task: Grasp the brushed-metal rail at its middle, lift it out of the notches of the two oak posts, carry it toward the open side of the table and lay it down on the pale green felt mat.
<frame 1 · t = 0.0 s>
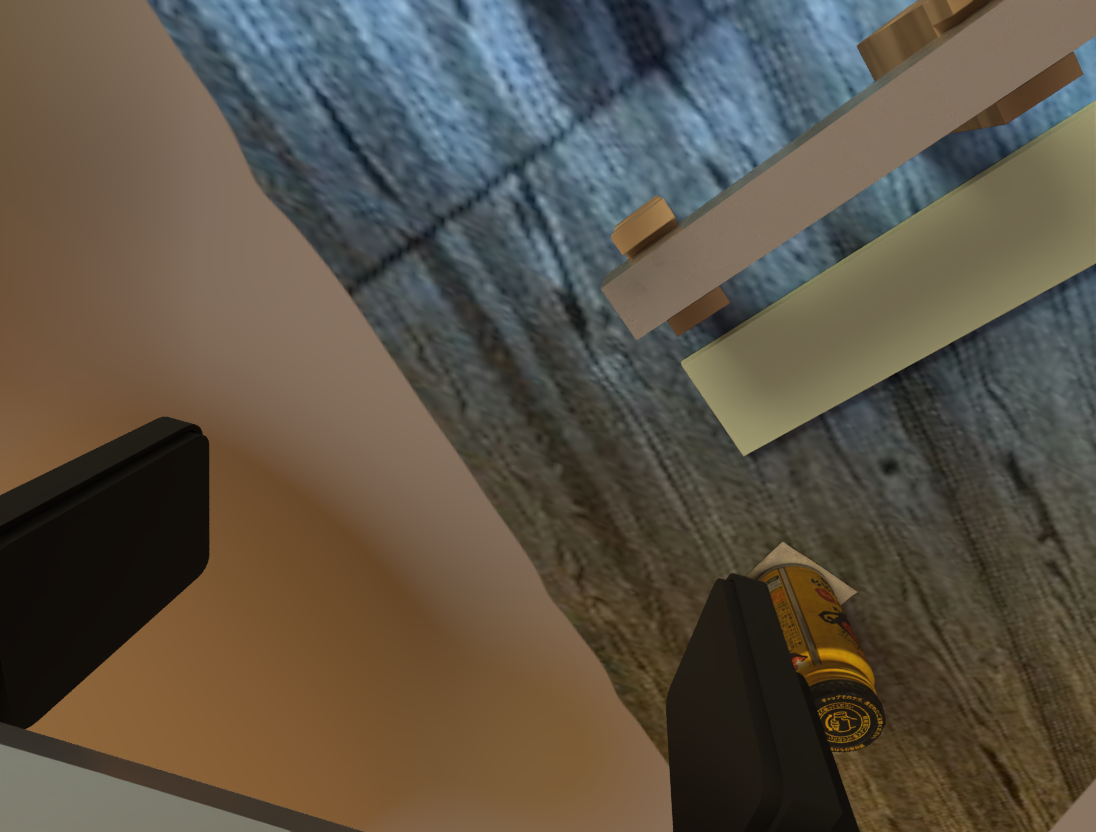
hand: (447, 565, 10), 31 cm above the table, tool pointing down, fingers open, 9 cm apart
post b: (662, 250, 38), on the table
rail: (813, 164, 28), point 8 cm above the table, touching post a, post b
condiment: (780, 598, 46), on the table
post a: (908, 75, 32), on the table
mat: (893, 299, 37), on the table
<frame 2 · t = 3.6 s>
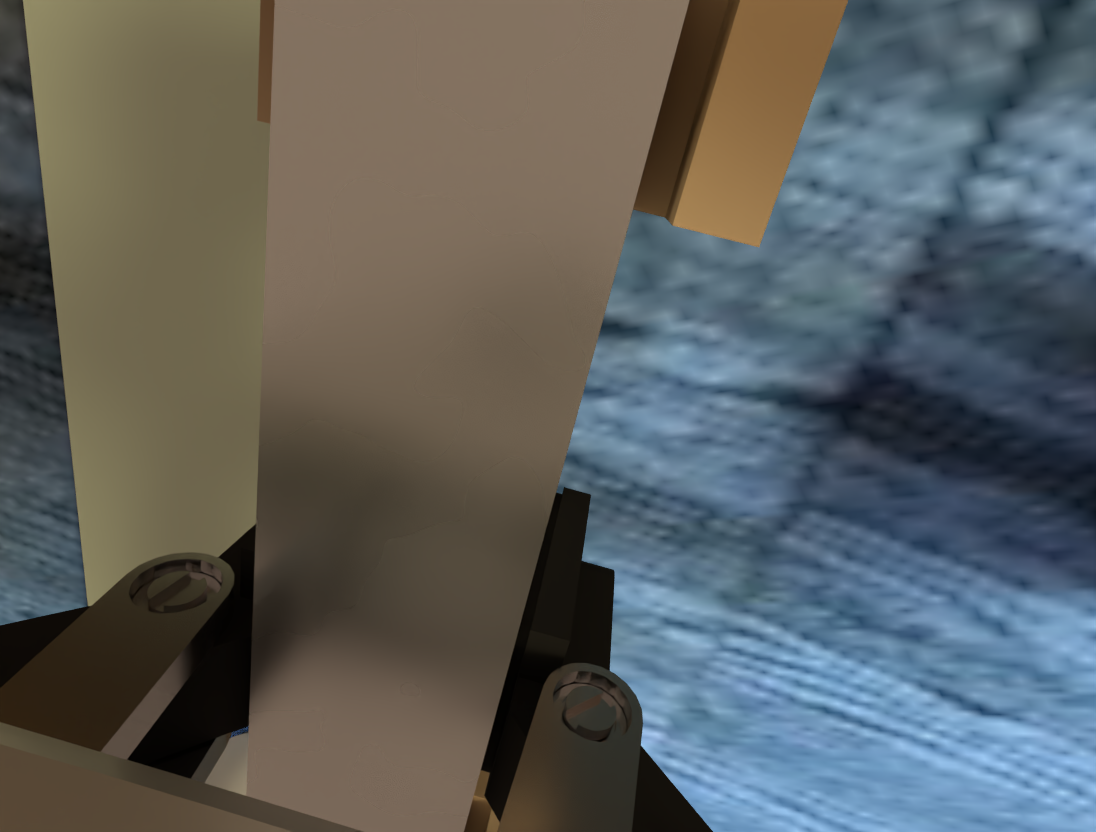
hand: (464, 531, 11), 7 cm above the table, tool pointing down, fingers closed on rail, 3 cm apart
post b: (593, 123, 15), on the table
can: (287, 772, 27), on the table
rail: (456, 548, 11), point 8 cm above the table, touching gripper, post a, post b
post a: (482, 599, 21), on the table
mat: (198, 371, 19), on the table
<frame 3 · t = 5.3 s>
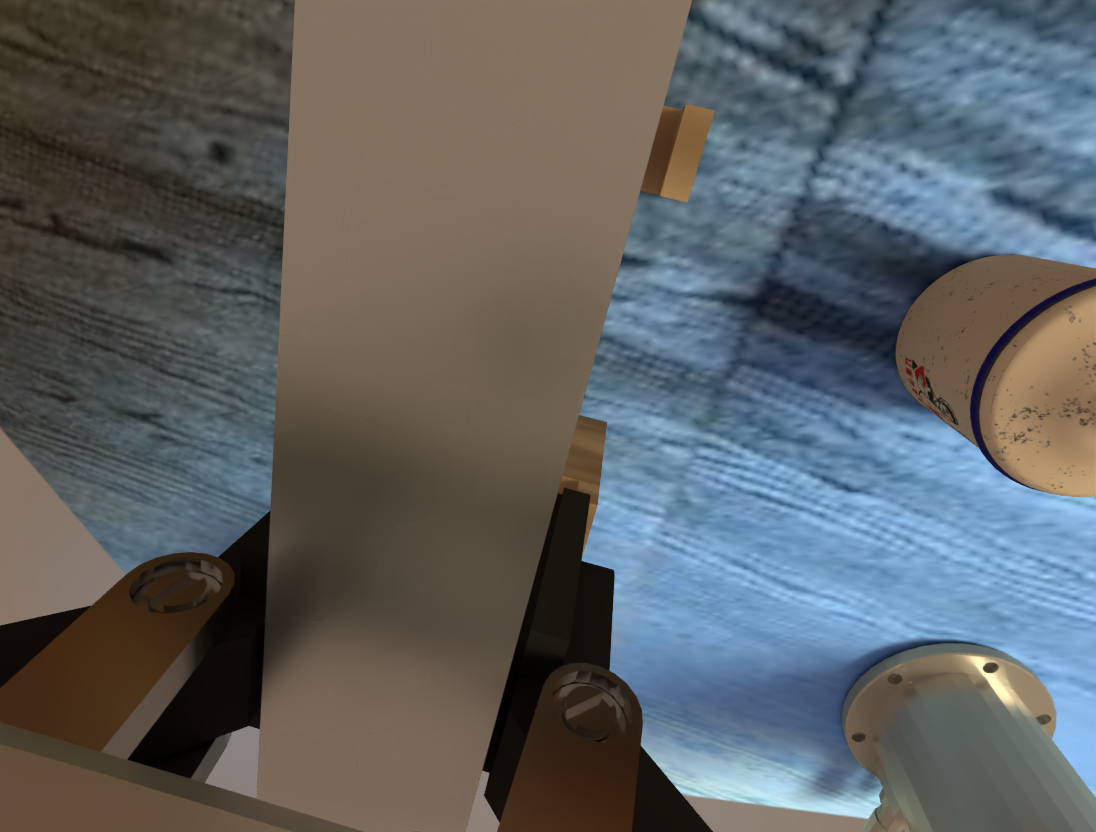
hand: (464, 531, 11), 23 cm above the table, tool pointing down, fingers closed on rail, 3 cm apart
post b: (622, 152, 29), on the table
rail: (460, 540, 11), point 23 cm above the table, touching gripper
teacup with lid: (1002, 350, 31), on the table
post a: (553, 431, 36), on the table
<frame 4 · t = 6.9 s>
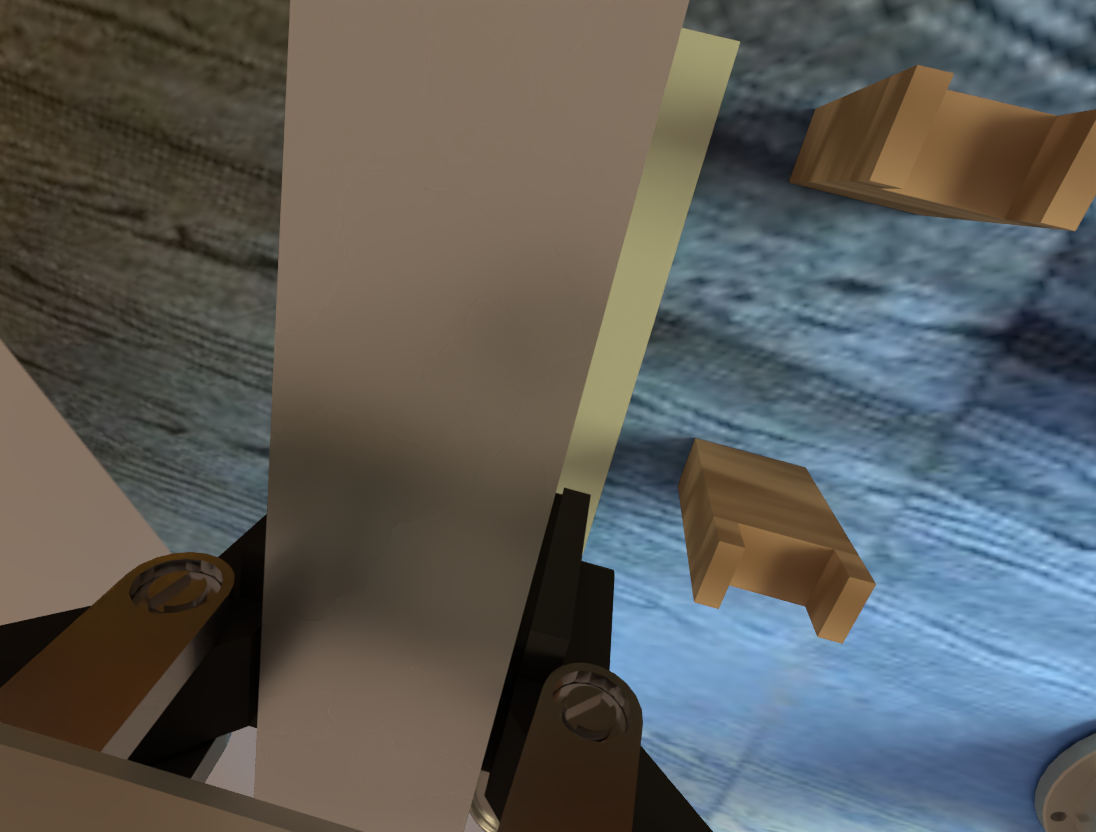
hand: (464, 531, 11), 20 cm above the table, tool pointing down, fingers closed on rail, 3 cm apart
post b: (869, 163, 25), on the table
can: (560, 620, 37), on the table
rail: (459, 540, 11), point 20 cm above the table, touching gripper
post a: (740, 476, 32), on the table
mat: (570, 319, 30), on the table
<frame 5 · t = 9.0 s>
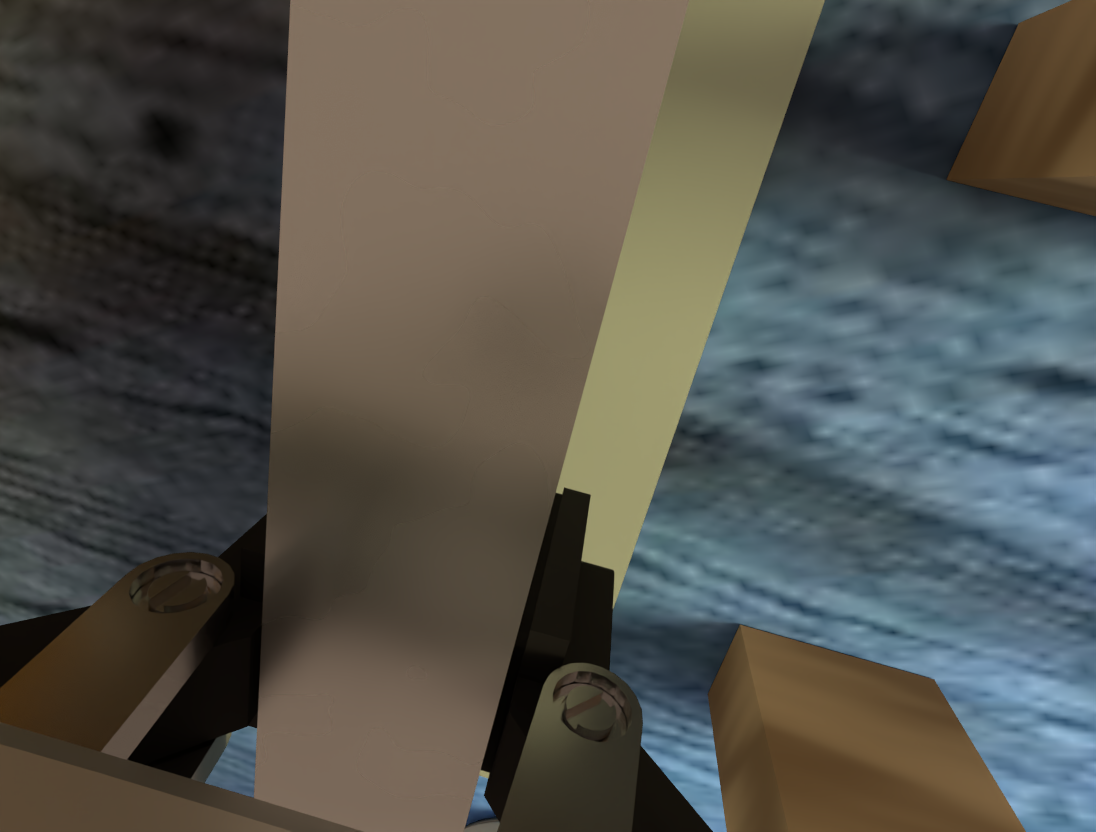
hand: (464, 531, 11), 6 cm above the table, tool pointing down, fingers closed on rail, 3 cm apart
rail: (459, 540, 11), point 6 cm above the table, touching gripper
post a: (816, 687, 18), on the table
mat: (519, 426, 17), on the table
when the fingers open (2 cm above the table, at t = 10.6 s): rail drops 1 cm, resting on mat.
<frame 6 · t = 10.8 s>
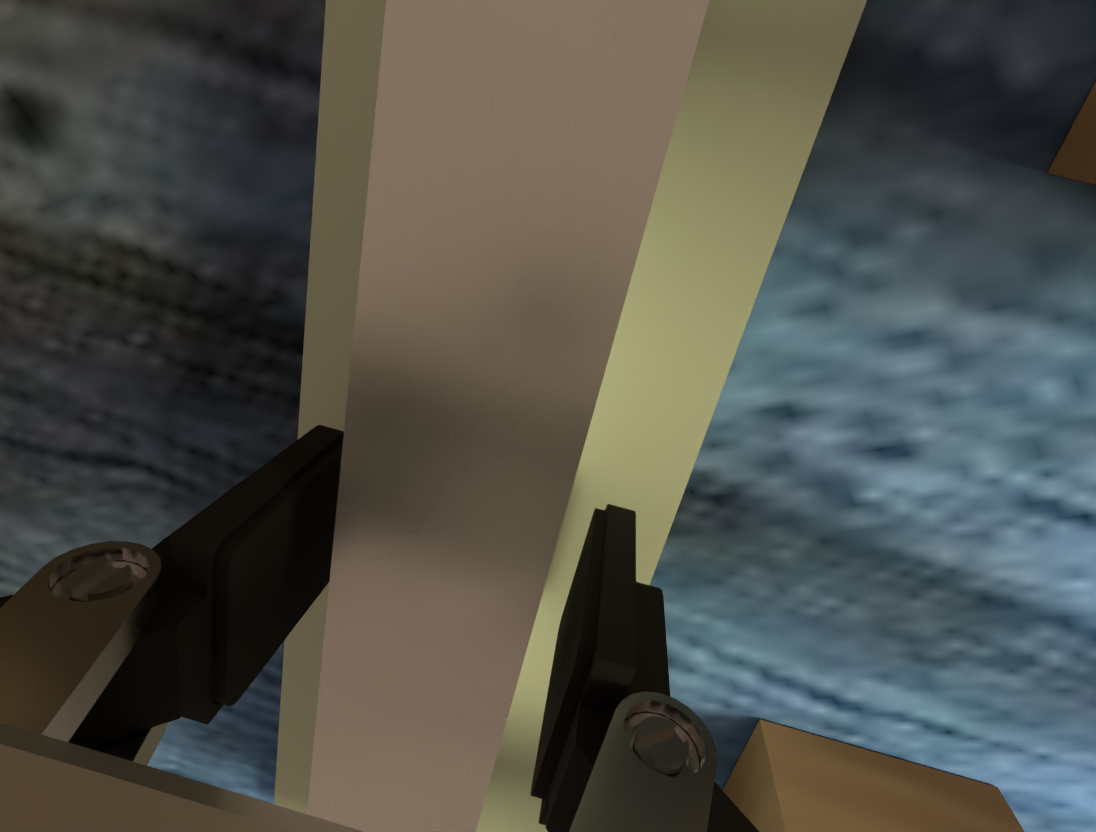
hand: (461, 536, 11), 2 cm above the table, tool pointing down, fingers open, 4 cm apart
rail: (485, 507, 12), point 1 cm above the table, touching mat
post a: (852, 791, 15), on the table
mat: (486, 483, 13), on the table
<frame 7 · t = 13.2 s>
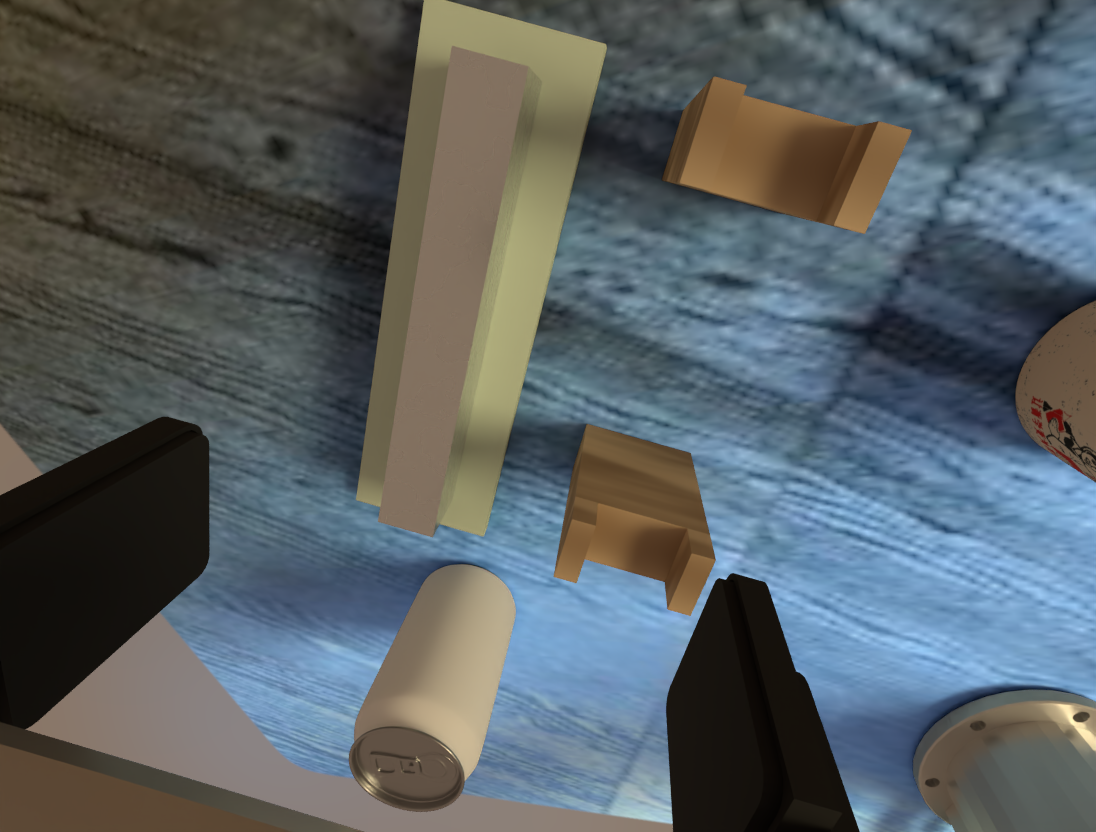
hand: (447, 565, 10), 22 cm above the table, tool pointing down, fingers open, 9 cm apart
post b: (735, 163, 27), on the table
can: (469, 598, 39), on the table
rail: (463, 312, 30), point 1 cm above the table, touching mat
post a: (630, 461, 33), on the table
mat: (464, 307, 31), on the table
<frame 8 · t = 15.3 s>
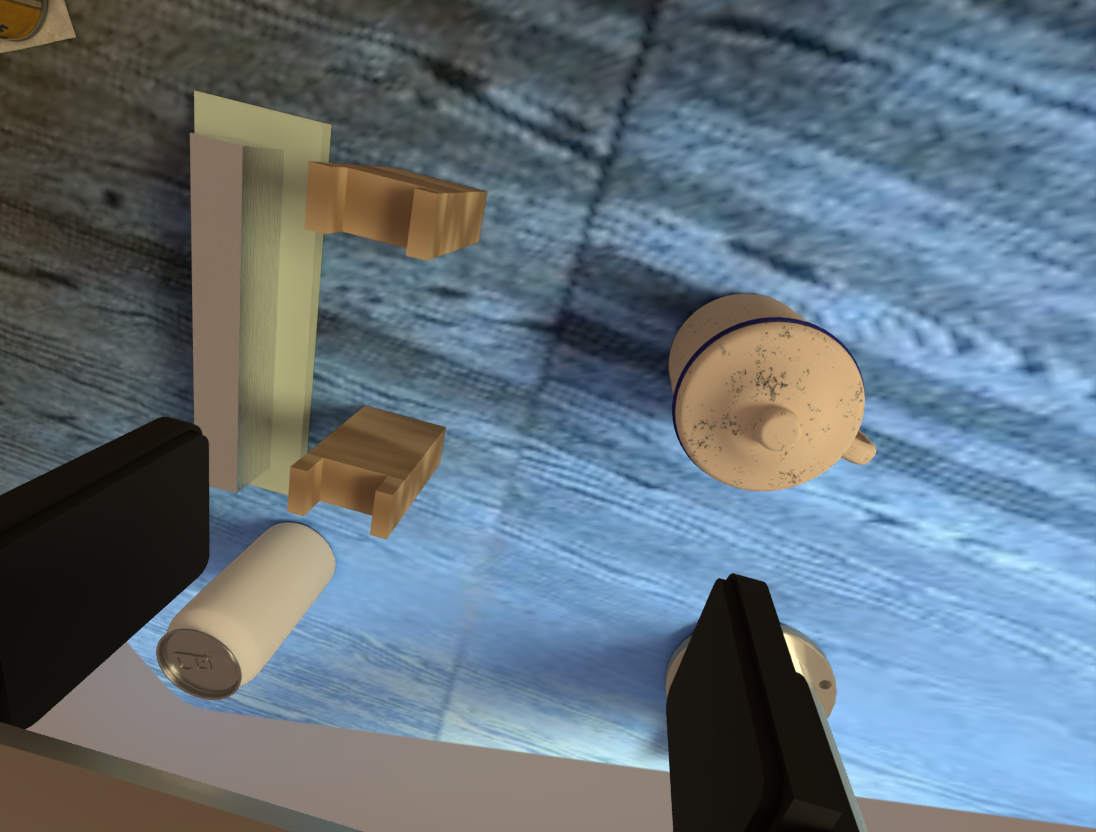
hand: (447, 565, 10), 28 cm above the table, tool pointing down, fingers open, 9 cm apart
post b: (435, 205, 36), on the table
can: (301, 552, 47), on the table
rail: (255, 320, 39), point 1 cm above the table, touching mat
teacup with lid: (757, 371, 37), on the table
post a: (402, 435, 42), on the table
mat: (261, 316, 40), on the table
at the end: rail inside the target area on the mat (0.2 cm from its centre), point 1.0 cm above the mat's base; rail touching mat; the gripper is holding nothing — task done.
